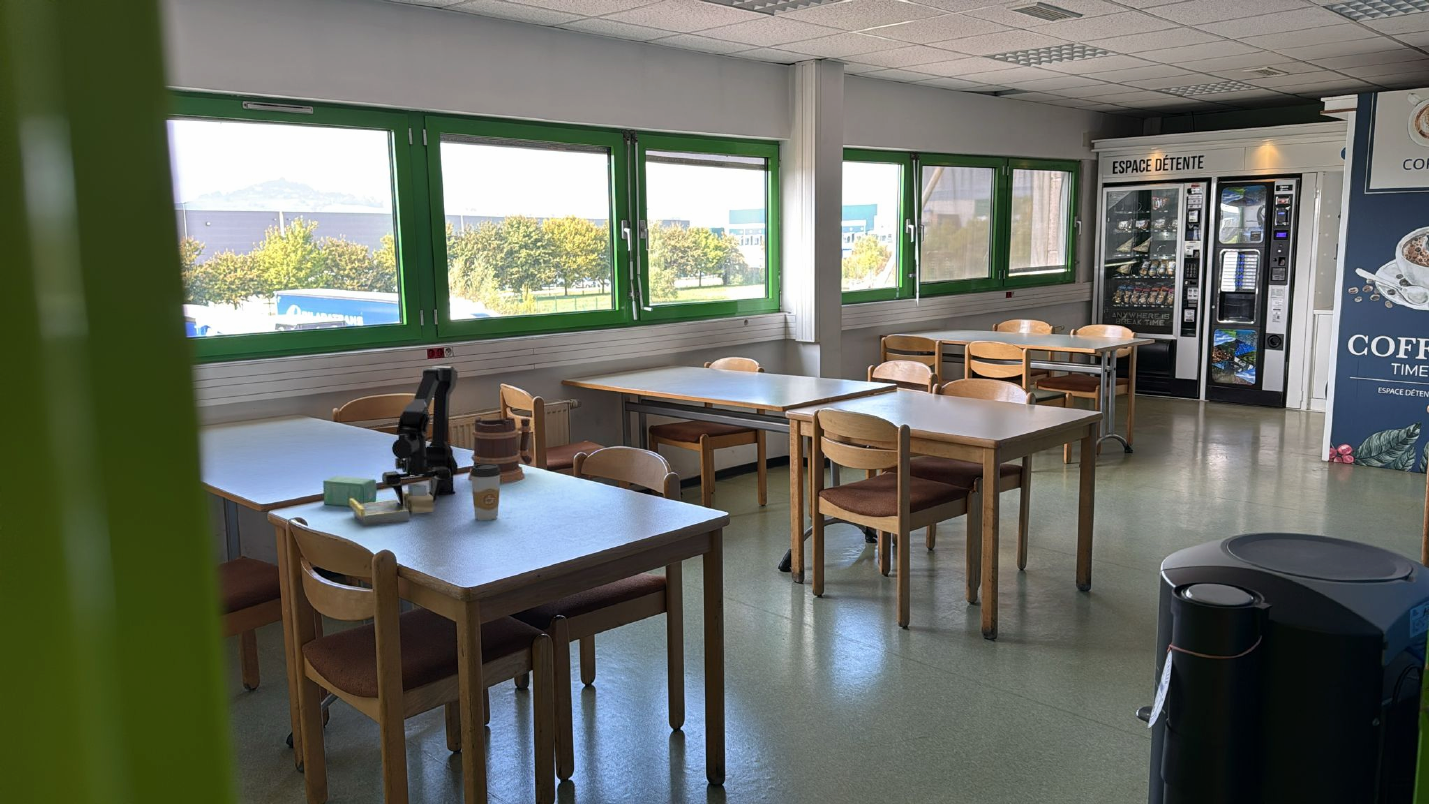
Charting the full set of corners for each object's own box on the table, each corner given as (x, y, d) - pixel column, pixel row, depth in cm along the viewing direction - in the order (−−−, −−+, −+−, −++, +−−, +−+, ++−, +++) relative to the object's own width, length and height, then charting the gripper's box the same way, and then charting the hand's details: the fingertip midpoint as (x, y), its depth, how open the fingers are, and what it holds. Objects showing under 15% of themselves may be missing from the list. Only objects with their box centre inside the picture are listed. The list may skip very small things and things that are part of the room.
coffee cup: (475, 523, 292) (474, 470, 289) (468, 516, 299) (466, 464, 297) (505, 519, 295) (504, 467, 293) (496, 513, 303) (495, 462, 300)
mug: (546, 476, 351) (545, 417, 348) (485, 486, 336) (484, 425, 333) (517, 467, 364) (515, 410, 361) (457, 476, 349) (456, 417, 346)
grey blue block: (408, 492, 307) (408, 484, 307) (421, 491, 309) (421, 482, 309) (412, 496, 303) (412, 487, 303) (426, 494, 305) (426, 486, 305)
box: (364, 508, 307) (363, 483, 306) (323, 505, 310) (322, 480, 309) (377, 502, 314) (376, 477, 313) (337, 499, 317) (336, 475, 316)
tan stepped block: (402, 505, 310) (402, 490, 309) (422, 503, 313) (422, 488, 313) (412, 514, 301) (412, 498, 300) (433, 511, 304) (432, 496, 303)
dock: (396, 510, 305) (395, 493, 304) (409, 521, 293) (408, 503, 292) (350, 515, 298) (349, 498, 297) (361, 527, 286) (360, 509, 286)
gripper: (439, 444, 316) (441, 494, 318) (376, 450, 307) (378, 502, 309) (450, 450, 307) (452, 502, 309) (386, 456, 297) (388, 510, 299)
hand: (417, 504), depth 307 cm, fingers open, 9 cm apart
